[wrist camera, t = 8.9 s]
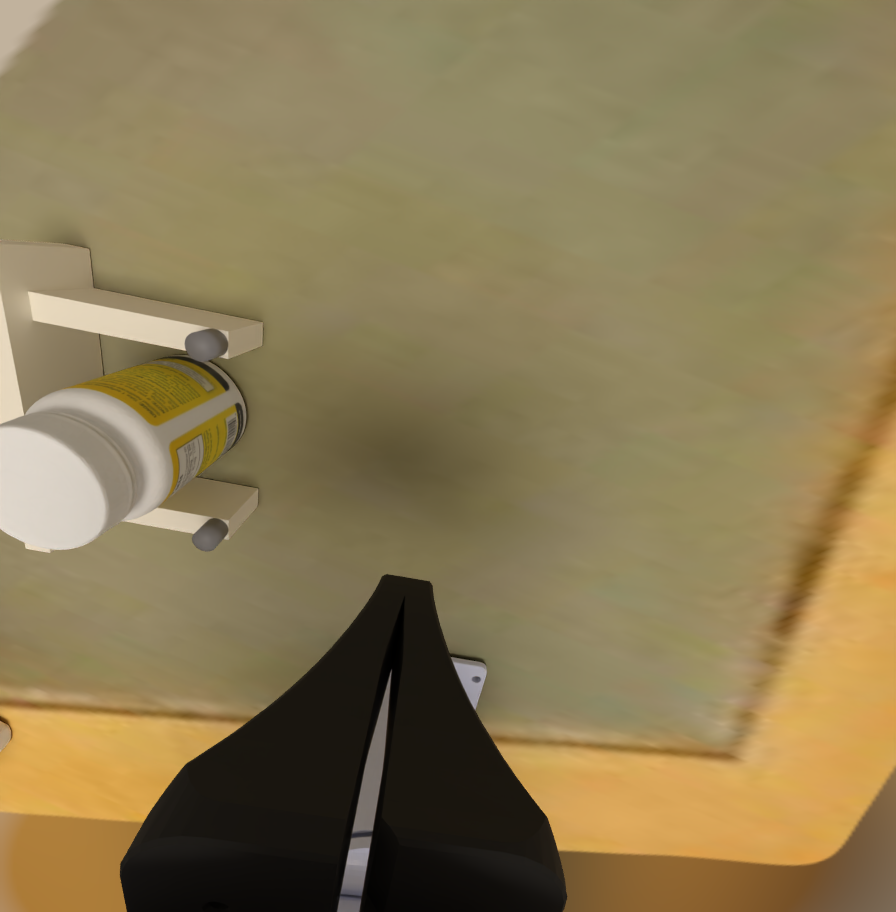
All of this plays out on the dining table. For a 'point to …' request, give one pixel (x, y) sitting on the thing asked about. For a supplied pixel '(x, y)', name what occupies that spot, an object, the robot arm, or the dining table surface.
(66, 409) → the supplement bottle
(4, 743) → the photo printer
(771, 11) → the dining table surface
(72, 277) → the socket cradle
